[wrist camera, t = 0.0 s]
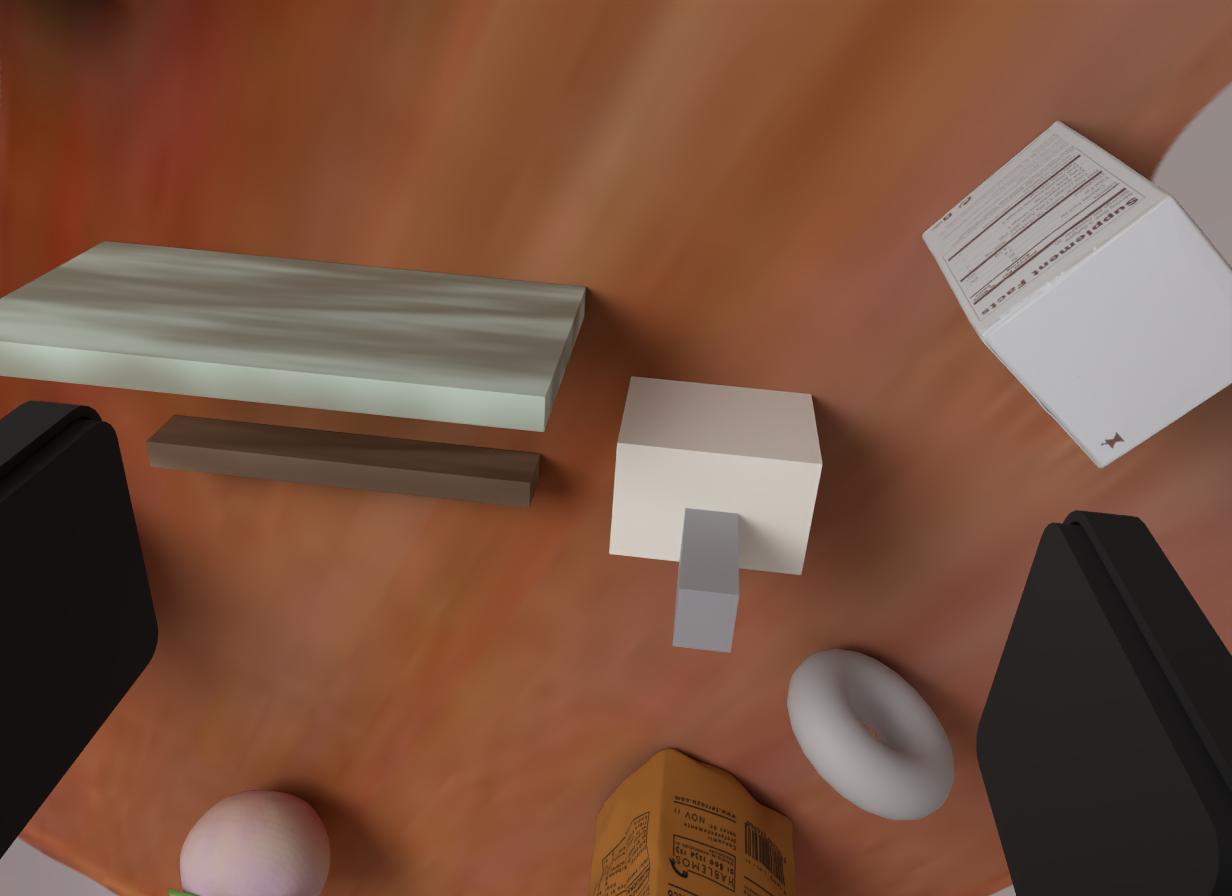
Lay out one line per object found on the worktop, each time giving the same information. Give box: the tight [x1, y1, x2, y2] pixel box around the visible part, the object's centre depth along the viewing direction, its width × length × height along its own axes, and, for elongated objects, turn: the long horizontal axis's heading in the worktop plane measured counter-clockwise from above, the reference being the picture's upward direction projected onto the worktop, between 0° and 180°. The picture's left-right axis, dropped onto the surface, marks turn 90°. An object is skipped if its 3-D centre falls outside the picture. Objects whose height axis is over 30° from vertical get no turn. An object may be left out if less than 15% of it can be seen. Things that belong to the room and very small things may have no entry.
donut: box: [787, 649, 955, 820], centre depth 53 cm, size 10×4×10 cm, turn 60°
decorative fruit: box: [168, 790, 331, 896], centre depth 63 cm, size 9×8×10 cm
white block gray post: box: [609, 376, 822, 653], centre depth 45 cm, size 6×9×13 cm, turn 87°
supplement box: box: [922, 121, 1232, 468], centre depth 39 cm, size 7×7×13 cm
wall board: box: [0, 241, 586, 508], centre depth 46 cm, size 11×24×12 cm, turn 86°
